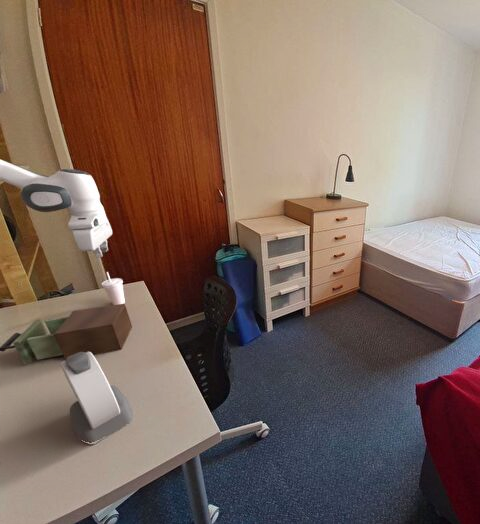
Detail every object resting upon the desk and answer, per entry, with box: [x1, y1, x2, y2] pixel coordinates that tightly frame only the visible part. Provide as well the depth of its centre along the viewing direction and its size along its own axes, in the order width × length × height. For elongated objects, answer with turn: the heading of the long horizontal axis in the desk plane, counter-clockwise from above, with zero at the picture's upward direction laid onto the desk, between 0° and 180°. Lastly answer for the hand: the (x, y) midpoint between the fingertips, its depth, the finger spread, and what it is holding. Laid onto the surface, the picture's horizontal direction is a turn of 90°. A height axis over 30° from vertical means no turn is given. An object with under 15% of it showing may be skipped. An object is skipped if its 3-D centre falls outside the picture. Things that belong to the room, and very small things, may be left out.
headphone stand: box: [60, 352, 133, 443], centre depth 63 cm, size 16×10×18 cm, turn 53°
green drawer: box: [0, 316, 69, 365], centre depth 85 cm, size 17×11×8 cm, turn 113°
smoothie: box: [101, 271, 126, 305], centre depth 109 cm, size 6×6×14 cm
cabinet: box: [54, 303, 133, 360], centre depth 89 cm, size 14×13×10 cm
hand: (102, 254), depth 104 cm, fingers open, 4 cm apart
